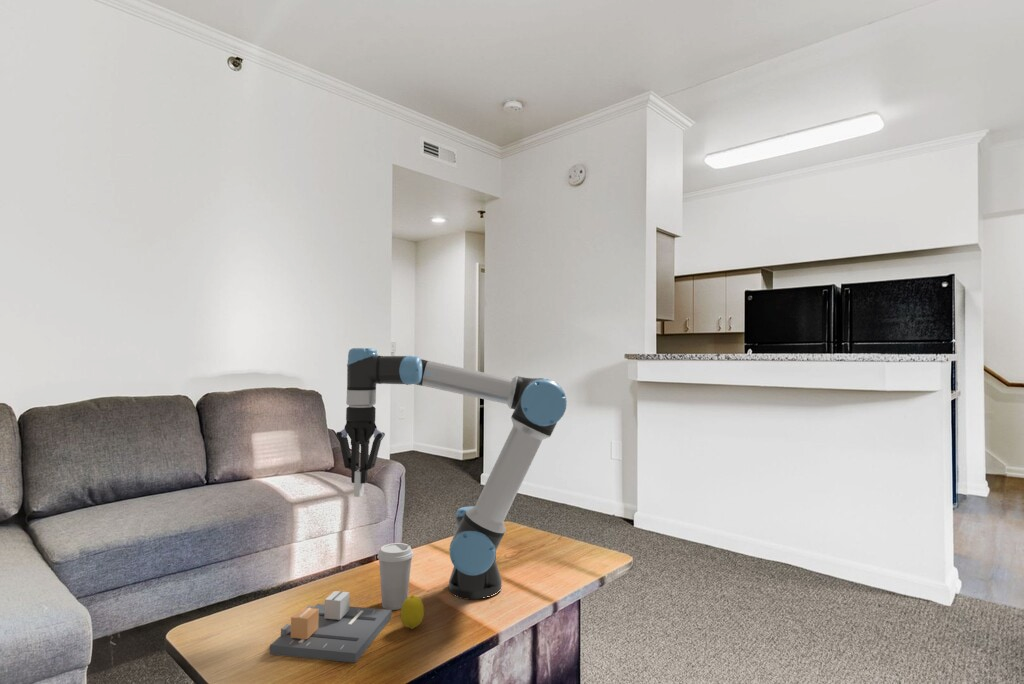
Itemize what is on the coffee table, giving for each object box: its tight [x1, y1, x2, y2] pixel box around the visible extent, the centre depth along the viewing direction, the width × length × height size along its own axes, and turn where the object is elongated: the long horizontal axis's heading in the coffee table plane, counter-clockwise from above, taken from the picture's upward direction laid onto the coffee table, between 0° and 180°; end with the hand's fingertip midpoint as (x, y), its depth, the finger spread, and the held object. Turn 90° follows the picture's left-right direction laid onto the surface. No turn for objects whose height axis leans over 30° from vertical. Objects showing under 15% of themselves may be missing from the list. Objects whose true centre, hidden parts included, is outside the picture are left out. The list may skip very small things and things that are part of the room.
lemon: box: [400, 594, 425, 630], centre depth 133 cm, size 6×6×8 cm
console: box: [269, 603, 393, 664], centre depth 130 cm, size 20×21×3 cm
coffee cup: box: [376, 542, 414, 611], centre depth 146 cm, size 10×10×15 cm
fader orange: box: [290, 607, 319, 639], centre depth 125 cm, size 4×5×5 cm
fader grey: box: [324, 590, 350, 620], centre depth 135 cm, size 4×5×5 cm
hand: (358, 495), depth 145 cm, fingers closed
